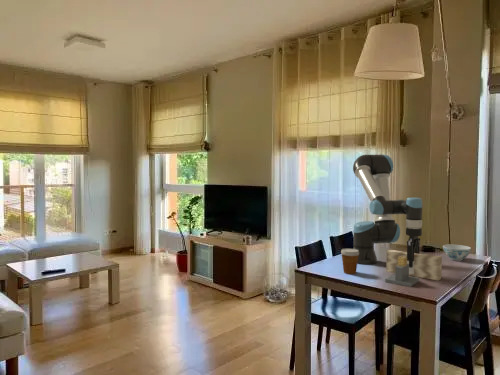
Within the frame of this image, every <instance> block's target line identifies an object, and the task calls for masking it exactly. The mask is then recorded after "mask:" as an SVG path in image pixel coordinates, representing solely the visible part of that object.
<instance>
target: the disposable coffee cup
mask: <svg viewBox="0 0 500 375" xmlns="http://www.w3.org/2000/svg"><path fill="white" fill-rule="evenodd" d="M340 253H341V254H340V255H341V261H342V268H343V273H344V274H347V275H355V274H356V273H357V268H358V263H357V261H358V255H359V251H358V250H357V249H353V248H342V249H341V251H340Z"/></svg>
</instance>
